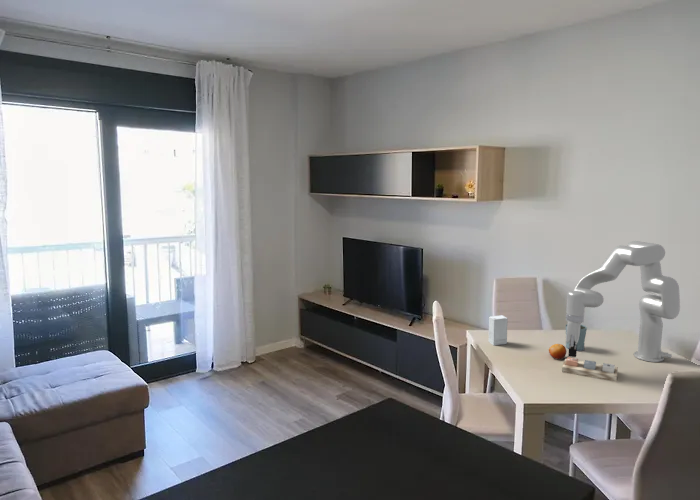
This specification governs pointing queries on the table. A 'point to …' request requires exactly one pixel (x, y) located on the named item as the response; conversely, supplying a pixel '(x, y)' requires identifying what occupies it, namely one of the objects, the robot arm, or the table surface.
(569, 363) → the key
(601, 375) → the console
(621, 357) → the table surface
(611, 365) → the key
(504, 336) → the skincare box
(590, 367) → the key
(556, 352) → the fruit
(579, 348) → the grey-blue cup
